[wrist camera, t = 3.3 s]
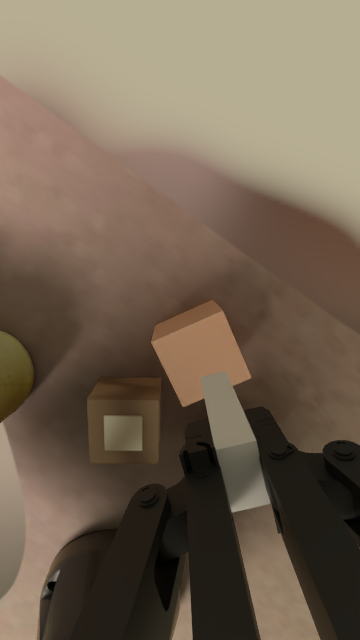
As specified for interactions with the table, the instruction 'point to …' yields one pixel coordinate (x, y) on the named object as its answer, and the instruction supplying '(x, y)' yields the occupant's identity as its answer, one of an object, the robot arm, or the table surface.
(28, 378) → the mug
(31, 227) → the table surface
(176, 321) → the plain block
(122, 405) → the walnut block
